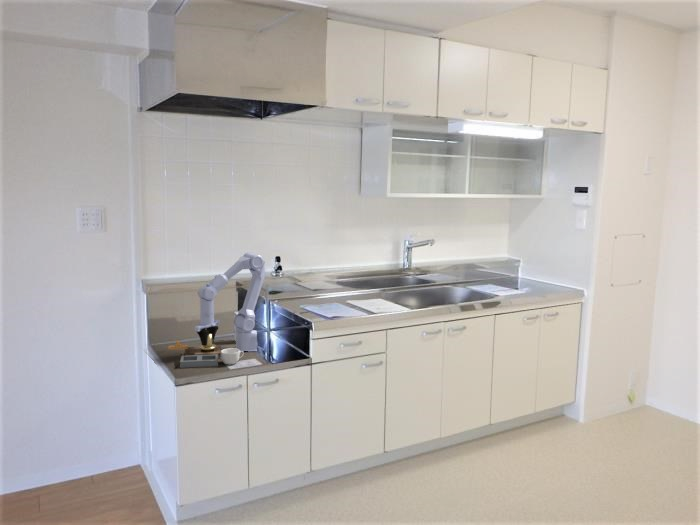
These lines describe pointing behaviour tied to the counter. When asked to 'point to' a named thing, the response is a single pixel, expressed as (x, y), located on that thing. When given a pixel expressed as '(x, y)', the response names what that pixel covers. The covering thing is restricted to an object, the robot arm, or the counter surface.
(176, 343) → the latch bar
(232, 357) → the teacup
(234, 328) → the syrup box
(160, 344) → the counter surface
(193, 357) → the rack
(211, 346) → the brass peg
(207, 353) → the socket block
